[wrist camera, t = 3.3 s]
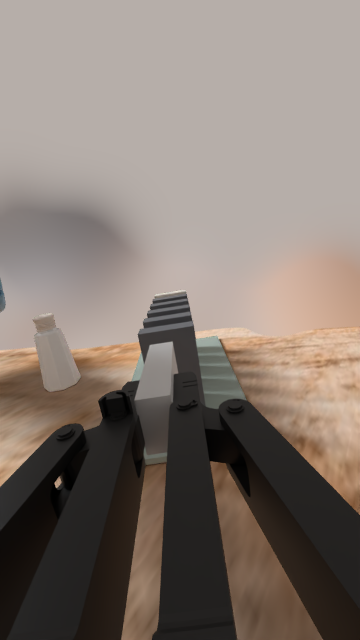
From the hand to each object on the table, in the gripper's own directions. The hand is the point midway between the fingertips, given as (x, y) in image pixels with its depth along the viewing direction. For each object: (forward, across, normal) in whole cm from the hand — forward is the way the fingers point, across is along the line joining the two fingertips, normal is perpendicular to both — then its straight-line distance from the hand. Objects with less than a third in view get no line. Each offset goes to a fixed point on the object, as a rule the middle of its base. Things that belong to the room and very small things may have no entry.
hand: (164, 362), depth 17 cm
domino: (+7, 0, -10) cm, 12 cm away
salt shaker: (+22, -19, -10) cm, 31 cm away
